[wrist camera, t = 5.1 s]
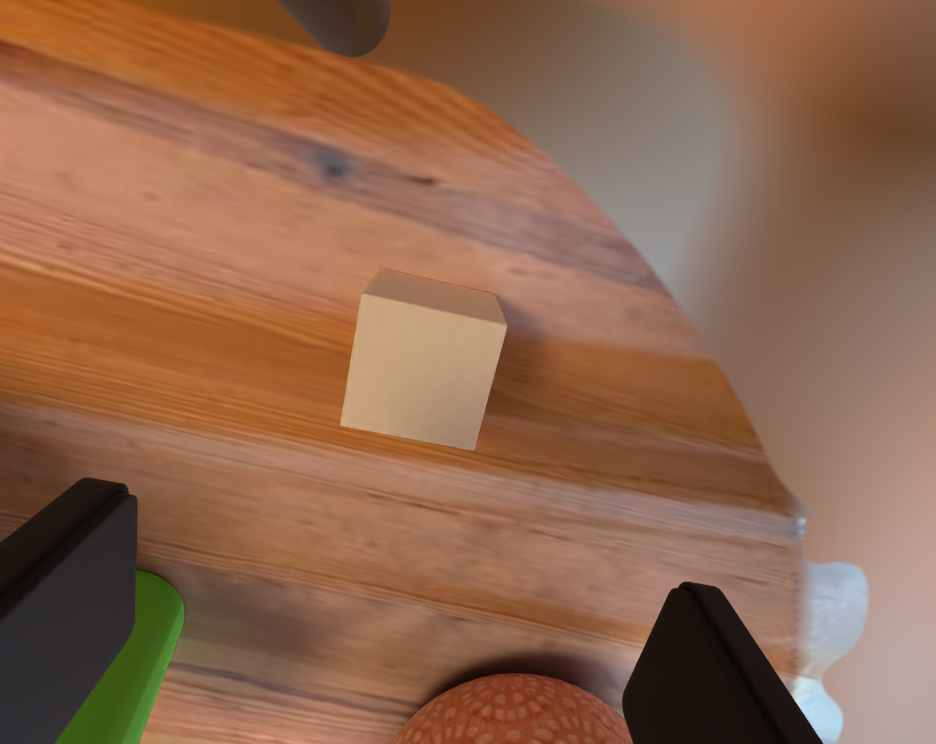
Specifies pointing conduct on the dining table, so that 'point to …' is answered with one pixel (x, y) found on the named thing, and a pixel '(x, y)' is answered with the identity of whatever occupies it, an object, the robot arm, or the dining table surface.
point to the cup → (132, 670)
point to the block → (423, 359)
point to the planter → (515, 714)
